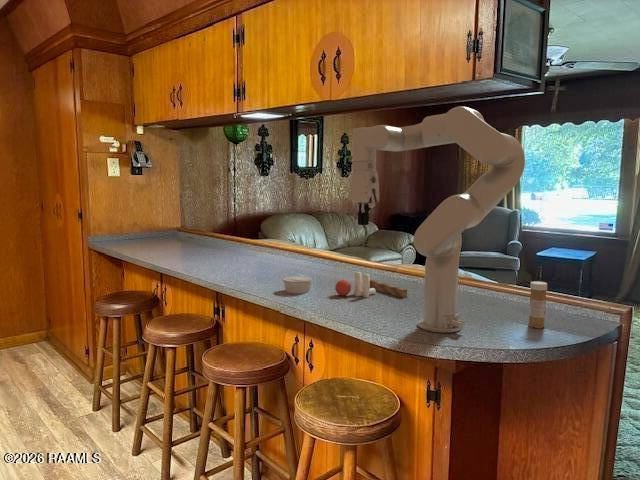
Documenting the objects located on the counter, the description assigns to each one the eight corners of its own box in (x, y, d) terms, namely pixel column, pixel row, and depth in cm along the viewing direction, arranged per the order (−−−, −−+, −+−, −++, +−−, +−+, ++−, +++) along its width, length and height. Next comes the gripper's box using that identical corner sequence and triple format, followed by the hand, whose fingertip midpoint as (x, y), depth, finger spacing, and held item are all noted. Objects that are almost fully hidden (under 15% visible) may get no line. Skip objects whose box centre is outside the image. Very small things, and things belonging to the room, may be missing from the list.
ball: (346, 274, 184) (340, 281, 179) (356, 286, 184) (350, 293, 179) (335, 281, 187) (329, 289, 182) (345, 293, 187) (339, 301, 182)
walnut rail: (406, 297, 181) (407, 289, 181) (402, 297, 180) (403, 290, 180) (370, 286, 200) (370, 279, 199) (366, 286, 199) (366, 279, 198)
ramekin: (282, 294, 185) (282, 281, 184) (284, 288, 196) (284, 275, 195) (311, 294, 185) (311, 281, 184) (312, 288, 196) (312, 275, 195)
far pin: (362, 294, 185) (362, 272, 184) (357, 295, 184) (357, 273, 183) (358, 293, 187) (358, 271, 186) (353, 293, 186) (353, 272, 185)
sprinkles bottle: (532, 323, 148) (534, 280, 146) (547, 326, 145) (550, 282, 143) (525, 326, 145) (527, 282, 143) (540, 329, 142) (543, 284, 140)
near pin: (370, 297, 181) (371, 274, 180) (365, 297, 180) (365, 275, 179) (366, 295, 183) (367, 273, 182) (361, 296, 182) (361, 274, 181)
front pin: (357, 297, 181) (375, 294, 186) (357, 291, 181) (375, 289, 185) (353, 295, 183) (371, 293, 188) (354, 289, 183) (372, 287, 187)
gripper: (388, 167, 150) (387, 226, 152) (359, 168, 163) (358, 222, 165) (369, 166, 146) (368, 227, 148) (341, 167, 159) (340, 223, 161)
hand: (363, 224), depth 157 cm, fingers closed
